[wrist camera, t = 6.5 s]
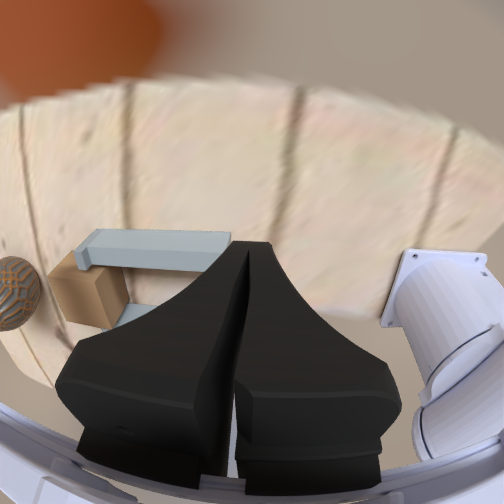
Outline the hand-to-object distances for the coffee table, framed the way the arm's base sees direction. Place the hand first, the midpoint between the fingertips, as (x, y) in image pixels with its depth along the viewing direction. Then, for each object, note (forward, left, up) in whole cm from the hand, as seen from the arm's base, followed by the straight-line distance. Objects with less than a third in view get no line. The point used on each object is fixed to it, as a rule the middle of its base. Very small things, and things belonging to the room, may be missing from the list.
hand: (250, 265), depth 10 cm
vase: (+25, +9, -10) cm, 28 cm away
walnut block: (+14, +8, -9) cm, 19 cm away
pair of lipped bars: (+8, +8, -9) cm, 14 cm away
